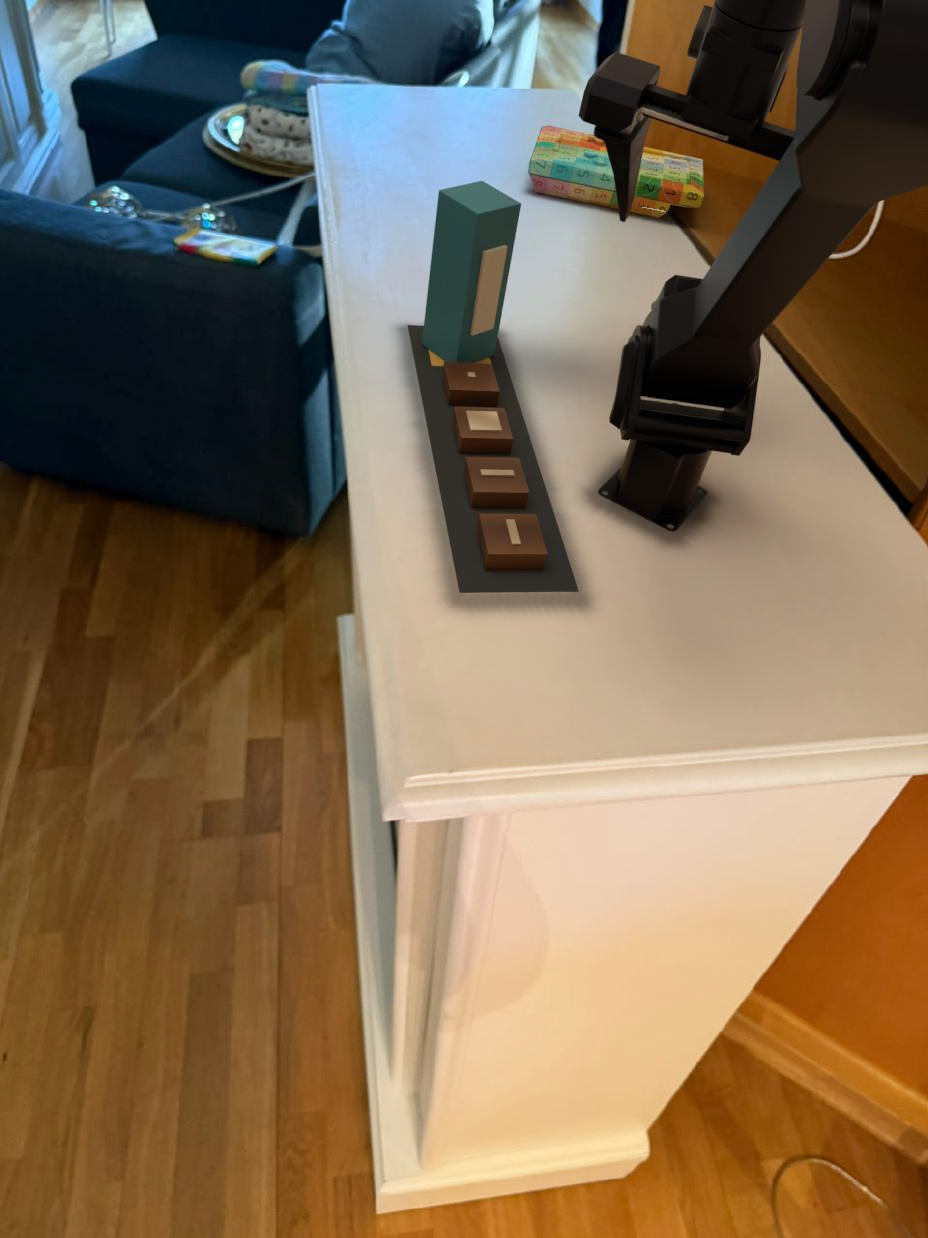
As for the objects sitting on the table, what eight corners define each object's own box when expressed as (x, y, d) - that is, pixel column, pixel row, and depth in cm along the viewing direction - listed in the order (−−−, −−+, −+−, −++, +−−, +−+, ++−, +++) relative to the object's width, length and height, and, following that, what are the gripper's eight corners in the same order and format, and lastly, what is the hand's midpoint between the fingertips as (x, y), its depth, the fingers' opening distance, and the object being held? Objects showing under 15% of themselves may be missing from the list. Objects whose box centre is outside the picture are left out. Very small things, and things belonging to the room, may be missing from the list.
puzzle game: (543, 118, 109) (705, 151, 108) (535, 158, 112) (693, 191, 112) (531, 151, 101) (707, 188, 100) (524, 194, 104) (693, 230, 104)
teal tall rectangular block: (496, 357, 77) (524, 204, 68) (458, 371, 75) (480, 215, 66) (458, 329, 80) (479, 178, 70) (419, 342, 77) (436, 187, 68)
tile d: (496, 407, 72) (500, 389, 71) (447, 405, 72) (450, 387, 70) (488, 379, 75) (492, 361, 74) (441, 377, 74) (443, 359, 73)
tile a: (543, 570, 60) (548, 551, 59) (484, 570, 59) (488, 551, 58) (531, 529, 63) (536, 511, 61) (475, 529, 62) (479, 511, 61)
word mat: (577, 597, 59) (579, 590, 59) (458, 598, 58) (459, 591, 57) (494, 334, 81) (495, 328, 81) (406, 330, 80) (407, 323, 79)
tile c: (510, 454, 68) (514, 436, 67) (458, 453, 67) (461, 435, 66) (501, 423, 71) (505, 405, 70) (451, 422, 70) (454, 404, 69)
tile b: (525, 508, 64) (530, 490, 63) (470, 508, 63) (474, 489, 62) (515, 473, 67) (519, 455, 66) (462, 472, 66) (465, 454, 65)
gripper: (918, 12, 60) (814, 229, 72) (654, -68, 62) (599, 155, 75) (898, 74, 53) (788, 301, 66) (605, -18, 56) (554, 217, 69)
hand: (679, 238), depth 69 cm, fingers open, 9 cm apart
